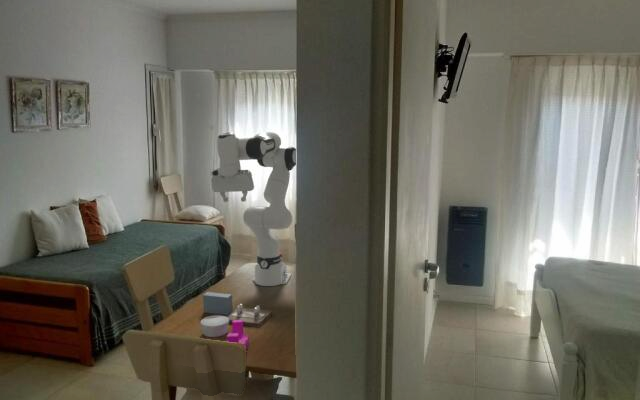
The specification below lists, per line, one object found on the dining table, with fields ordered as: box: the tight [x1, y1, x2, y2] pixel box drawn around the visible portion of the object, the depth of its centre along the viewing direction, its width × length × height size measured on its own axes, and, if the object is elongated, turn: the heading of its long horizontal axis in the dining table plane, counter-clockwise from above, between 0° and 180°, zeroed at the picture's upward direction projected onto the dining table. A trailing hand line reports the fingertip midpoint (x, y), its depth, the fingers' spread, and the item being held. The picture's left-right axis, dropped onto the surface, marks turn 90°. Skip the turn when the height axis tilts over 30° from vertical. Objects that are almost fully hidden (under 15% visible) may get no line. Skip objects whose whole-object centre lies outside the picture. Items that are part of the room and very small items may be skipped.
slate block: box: [202, 291, 234, 316], centre depth 231 cm, size 4×12×8 cm, turn 72°
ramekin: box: [200, 315, 230, 338], centre depth 209 cm, size 11×11×5 cm
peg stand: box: [226, 303, 273, 328], centre depth 223 cm, size 14×16×6 cm
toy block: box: [226, 320, 250, 349], centre depth 197 cm, size 15×6×8 cm, turn 1°
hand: (234, 201), depth 233 cm, fingers open, 8 cm apart
